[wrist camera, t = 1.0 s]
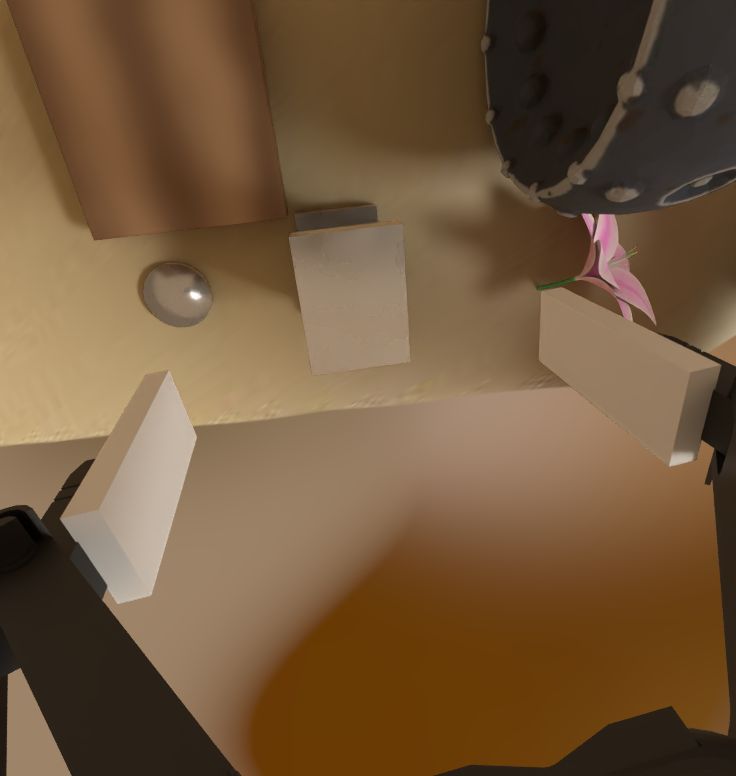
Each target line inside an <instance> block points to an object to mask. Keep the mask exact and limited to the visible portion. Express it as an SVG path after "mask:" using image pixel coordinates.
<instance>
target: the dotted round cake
mask: <svg viewBox="0 0 736 776" xmlns="http://www.w3.org/2000/svg"><path fill="white" fill-rule="evenodd" d="M481 50H482V51H483V53H484V55H485V74H486V93H487V103H488V111H487V113H486V123H487V124H488V125H489V126H490V127H491V129H492V133H493V138H494V143H495V145H496V148H497V151H498V154H499V156H500V159H501V162H502V167H501V173H502V174H503V175H504V176H505V177H506V178H510V179H511V180H512V181H513V182H514V184H515V185H516V186H517V187H518V188H519V189H520V190H521V191H522V192H524V193H525V194H527V195H528V196H529V199H530V200H532V201H533V202H544V203H546V204H548V205H550V206H552V207H553V208H554V210H555V211H556V212H557V213H558V214H560V215H562V216H566V217H569V218H573V217H576V216H578V215H581V214H583V213H584V214H608V215H621V214H631V213H638V212H645V211H652V210H658V209H662V208H665V207H669V206H672V205H676V204H679V203H683V202H686V201H690V200H693V199H695V198H698V197H701V196H703V195H706V194H709V193H711V192H714V191H716V190H718V189H720V188H723V187H725V186H727V185H729V184H731V183H732V182H734V181H736V0H487V10H486V28H485V34H484V37H483V39H482V41H481Z"/></svg>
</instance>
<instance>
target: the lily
mask: <svg viewBox="0 0 736 776" xmlns="http://www.w3.org/2000/svg"><path fill="white" fill-rule="evenodd" d="M581 215H582V217H583V219H584V221H585V223H586V225H587V227H588V230H589V232H590V236H591V247H590V252H589V256H588V259H587V261H586V264H585V266H584V269H583V271H582V273H581V274H580V275H578V276H576V277H573V278H570V279H567V280H563V281H560V282H556V283H552V284H548V285H543V286H539V287H537V290H541V289H546V288H550V287H554V286H558V285H562V284H566V283H570V282H573V281H577V280H585V281H588V282H591V283H594V284H596V285H598V286H600V287H601V288H603V289H605V290H606V291H608V292H609V293H610V294H611V295H612V296H614V297H615V299H616V300H617V301H618V304H619V306H620V308H621V311H622V314H623V317H624V318H626V319H628V320H630V321H632V322H633V319H632V313H631V309H630V307H629V305H628V303H630V304H632V305H634V306H635V307H637V308H639V309H640V310H642V311H643V312H644V313H646V314H647V315H648V316H649V317H650V318H651V320H652V321H653V322H654V324H655V325H656V320H655V316H654V313H653V310H652V307H651V304H650V301H649V299H648V297H647V295H646V292H645V290H644V288H643V287H642V285H641V284H640V282H639V281H638V279H637V278H636V277H635V276H634V275H633V274H631V273H630V266H631V265H633V264H629V260H628V257H631V256H634V255H633V254H635V253H637V251H635V252H634V253H632V254H630V255H628V256H627V255H626V254H627V253H626V252H625V250H624V249H623V247H622V246H621V245H620V244H619V243H618V226H617V222H616V218H615V215H608V214H600V215H599V220H598V224H597V229H596V224H595V221H594V218H593V216H592V215H591V214H584V213H583V214H581ZM636 247H637V246H635V247H634V248H633V249H635V248H636ZM633 249H632V250H633ZM632 250H631V251H632ZM629 252H630V251H629ZM629 252H628V253H629ZM626 301H627V302H628V303H627V302H626Z"/></svg>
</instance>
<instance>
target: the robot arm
mask: <svg viewBox="0 0 736 776" xmlns="http://www.w3.org/2000/svg"><path fill="white" fill-rule="evenodd" d="M539 361H540V362H541V363H542V364H544V365H545V366H546V367H547V368H549V369H550V370H551V371H552V372H554V373H555V374H556V375H557V376H558V377H560V378H561V379H562V380H563V381H565V382H566V383H567V384H568V385H569V386H571V387H572V388H573V389H574V390H576V391H577V392H578V393H580V394H581V395H582V396H583V397H584V398H585V399H587V400H588V401H589V402H590V403H592V404H593V405H594V406H595V407H597V408H598V409H599V410H600V411H601V412H603V413H604V414H605V415H606V416H608V417H609V418H610V419H611V420H612V421H614V422H615V423H616V424H617V425H619V426H620V427H621V428H622V429H624V430H625V431H626V432H627V433H628V434H630V435H631V436H632V437H633V438H635V439H636V440H637V441H638V442H639V443H641V444H642V445H643V446H644V447H646V448H647V449H648V450H649V451H651V452H652V453H653V454H655V456H657V457H658V458H659V459H660V460H662V461H663V462H664V463H665V464H667V465H668V466H673V465H677V464H681V463H686V462H689V461H693V460H696V459H697V456H698V452H699V448H700V445H701V441H702V440H703V441H704V442H706V443H708V444H709V445H710V446H712V447H713V448H714V452H713V456H712V459H711V463H710V466H709V470H708V474H707V478H706V481H705V484H707V485H710V483H711V481H713V493H714V506H715V517H716V530H717V544H718V557H719V569H720V583H721V595H722V608H723V621H724V634H725V645H726V646H725V647H726V659H727V672H728V685H729V697H730V725H729V730H728V736H726V735H723V734H719V733H716V732H712V731H707V730H701V729H694V728H687V727H686V726H685V724H684V723H683V721H682V720H681V719H680V717H679V716H678V714H677V713H676V711H675V710H674V709H673V707H672V706H670V707H666V708H663V709H660V710H656V711H653V712H649V713H646V714H643V715H639V716H636V717H633V718H629V719H625V720H622V721H619V722H615V723H612V724H608V725H607V726H606V727H604V728H603V729H602V730H600V731H599V732H598V733H596V734H595V735H594V736H592V737H591V738H590V739H588V740H587V741H586V742H584V743H583V744H582V745H580V746H579V747H578V748H576V749H575V750H574V751H572V752H571V753H570V754H568V755H567V756H566V757H564V758H563V759H562V760H560V761H559V762H558V763H556V764H555V765H553V766H550V767H545V768H537V767H511V766H484V765H469V766H465V767H462V768H458V769H455V770H452V771H448V772H445V773H442V774H438V775H435V776H736V366H734V365H731V364H729V363H727V362H725V361H723V360H721V359H718V358H717V357H714V356H712V355H710V354H708V353H706V352H701V350H700V349H698V348H696V347H694V346H689V344H687V343H685V342H683V341H681V340H679V339H677V338H675V337H671V336H667V335H663V334H659V333H655V332H653V331H651V330H649V329H647V328H645V327H642V326H640V325H638V324H636V323H634V322H632V321H630V320H628V319H626V318H624V317H622V316H620V315H618V314H616V313H614V312H612V311H610V310H608V309H606V308H604V307H601V306H599V305H597V304H595V303H593V302H591V301H589V300H587V299H585V298H583V297H581V296H579V295H577V294H575V293H573V292H571V291H569V290H567V289H565V288H563V287H559V288H555V289H550V290H545V291H541V313H540V339H539ZM196 438H197V436H196V434H195V431H194V429H193V426H192V424H191V422H190V419H189V417H188V415H187V412H186V410H185V407H184V405H183V403H182V400H181V398H180V396H179V393H178V391H177V388H176V386H175V384H174V381H173V379H172V377H171V374H170V372H169V370H167V371H163V372H158V373H153V374H149V375H145V377H144V379H143V380H142V382H141V384H140V385H139V387H138V389H137V390H136V392H135V394H134V395H133V397H132V399H131V400H130V402H129V404H128V405H127V407H126V409H125V410H124V412H123V414H122V415H121V417H120V419H119V421H118V422H117V424H116V426H115V427H114V429H113V431H112V432H111V434H110V436H109V437H108V439H107V441H106V443H105V444H104V446H103V447H102V449H101V451H100V452H99V454H98V456H97V458H96V459H92V460H87V461H85V462H84V463H83V464H82V465H80V466H79V467H78V468H77V469H76V470H75V471H74V472H73V473H71V474H70V476H69V477H68V479H67V480H66V482H65V484H64V485H63V487H62V488H61V489H62V491H59V493H58V495H57V496H56V498H55V499H54V502H53V503H52V504H51V505H50V507H49V508H48V510H47V511H46V513H45V514H44V516H43V518H42V519H41V520H40V518H39V517H38V516H37V514H36V513H35V511H34V510H33V509H32V508H30V507H29V506H27V505H18V506H12V507H9V508H5V509H2V510H0V776H6V762H7V759H6V758H7V756H6V755H7V690H8V688H7V686H8V674H9V673H11V672H13V671H15V670H17V669H19V668H21V669H22V672H23V674H24V676H25V678H26V680H27V682H28V684H29V686H30V689H31V691H32V693H33V695H34V697H35V699H36V701H37V703H38V705H39V707H40V710H41V712H42V714H43V716H44V718H45V720H46V722H47V724H48V727H49V729H50V731H51V733H52V735H53V737H54V739H55V741H56V743H57V746H58V748H59V750H60V752H61V754H62V756H63V758H64V760H65V762H66V765H67V767H68V769H69V771H70V773H71V775H72V776H241V775H240V773H239V772H238V771H236V770H235V769H234V768H233V767H232V765H231V764H230V763H229V762H228V760H227V759H226V758H225V757H224V755H223V754H222V753H221V752H220V750H219V749H218V748H217V746H216V745H215V744H214V743H213V741H212V740H211V739H210V738H209V736H208V735H207V734H206V732H205V731H204V730H203V729H202V727H201V726H200V725H199V723H198V722H197V721H196V720H195V718H194V717H193V716H192V714H191V713H190V712H189V711H188V710H187V708H186V707H185V705H184V704H183V703H182V702H181V700H180V699H179V698H178V697H177V695H176V694H175V693H174V691H173V690H172V689H171V688H170V686H169V685H168V684H167V683H166V681H165V680H164V679H163V677H162V676H161V675H160V674H159V672H158V671H157V670H156V668H155V667H154V666H153V665H152V663H151V662H150V661H149V660H148V659H147V657H146V656H145V654H144V653H143V652H142V651H141V649H140V648H139V647H138V645H137V644H136V643H135V642H134V640H133V639H132V638H131V636H130V635H129V634H128V633H127V631H126V630H125V629H124V628H123V626H122V625H121V624H120V622H119V621H118V620H117V619H116V617H115V616H114V615H113V613H112V612H111V611H110V610H109V608H108V607H107V606H106V604H105V603H104V602H103V601H102V599H103V596H104V594H105V591H106V589H108V590H109V592H110V593H111V595H112V596H113V598H114V599H115V600H116V602H117V603H118V604H119V603H123V602H128V601H131V600H136V599H140V598H144V597H148V596H151V594H152V591H153V587H154V584H155V580H156V577H157V574H158V570H159V567H160V563H161V560H162V556H163V552H164V549H165V546H166V542H167V539H168V536H169V532H170V529H171V525H172V522H173V518H174V515H175V511H176V508H177V504H178V501H179V497H180V494H181V491H182V487H183V483H184V480H185V476H186V473H187V470H188V466H189V463H190V459H191V456H192V452H193V449H194V446H195V442H196Z"/></svg>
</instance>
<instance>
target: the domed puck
mask: <svg viewBox="0 0 736 776" xmlns="http://www.w3.org/2000/svg"><path fill="white" fill-rule="evenodd" d="M143 296H144V300H145V303H146V305H147V307H148V309H149V310H150V311H151V313H152V314H153V315H154V316H155V317H156V318H158V319H159V320H160V321H162V322H164V323H166V324H168V325H171V326H175V327H189V326H192V325H195V324H197V323H199V322H200V321H202V320H203V319H204V318H205V316H206V315H207V314H208V312H209V310H210V308H211V305H212V291H211V288H210V285H209V283H208V281H207V280H206V278H205V277H204V276H203V275H202V274H201V273H200V272H199V271H198V270H197V269H195V268H193V267H192V266H189V265H187V264H184V263H179V262H169V263H165V264H162V265H160V266H158V267H157V268H155V269H154V270H152V271H151V272H150V273H149V275H148V276H147V278H146V280H145V282H144V286H143Z"/></svg>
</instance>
